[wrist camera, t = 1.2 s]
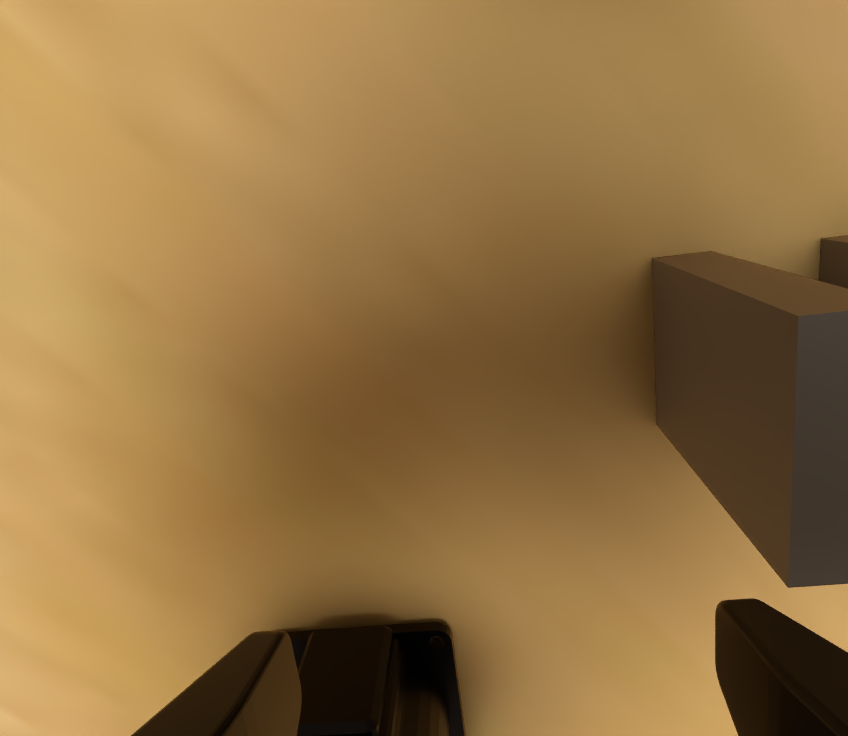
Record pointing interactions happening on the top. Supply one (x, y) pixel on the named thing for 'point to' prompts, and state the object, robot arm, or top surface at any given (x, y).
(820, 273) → the domino
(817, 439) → the domino
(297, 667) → the robot arm
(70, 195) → the top surface
